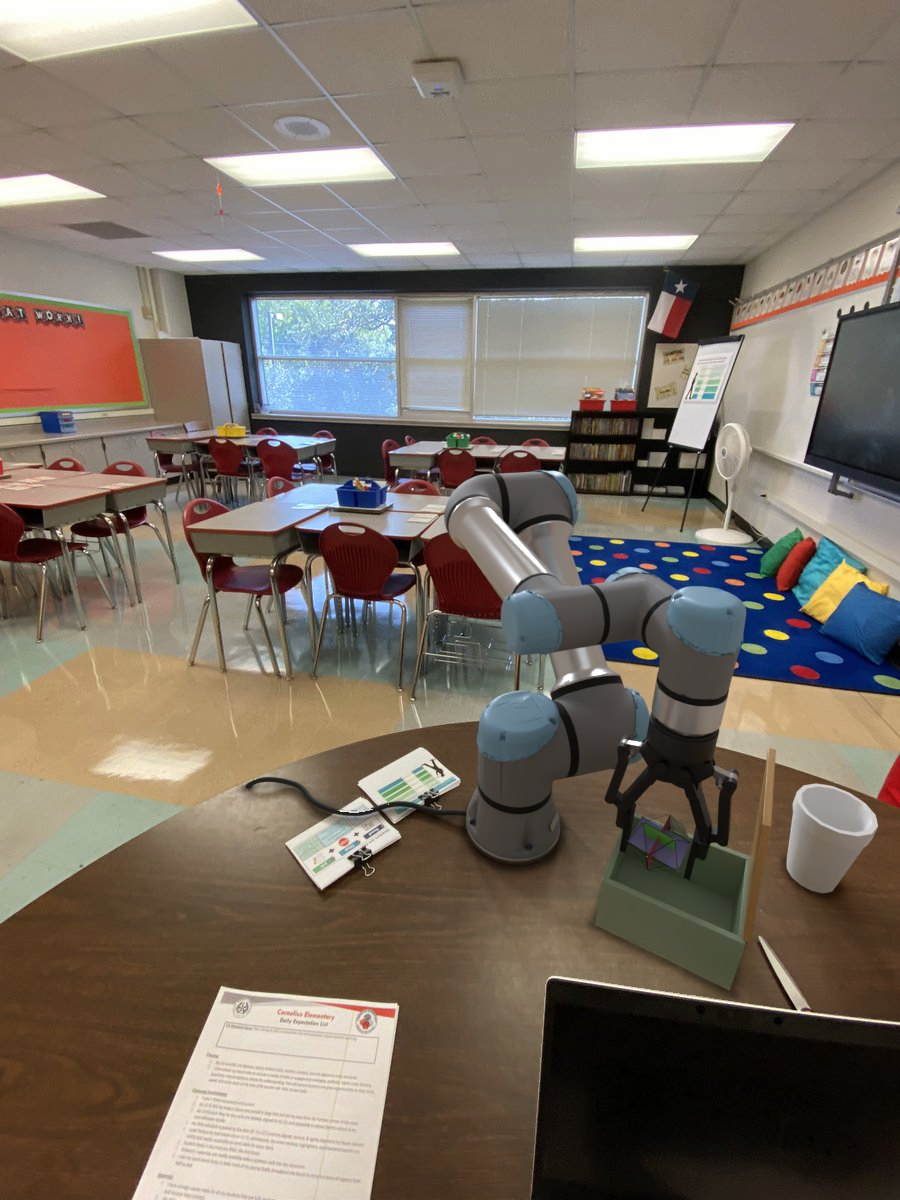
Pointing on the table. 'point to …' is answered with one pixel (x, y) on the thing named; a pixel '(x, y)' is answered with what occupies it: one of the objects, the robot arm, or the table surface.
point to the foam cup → (827, 835)
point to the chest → (679, 907)
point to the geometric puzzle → (661, 842)
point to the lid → (759, 844)
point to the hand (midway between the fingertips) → (655, 857)
